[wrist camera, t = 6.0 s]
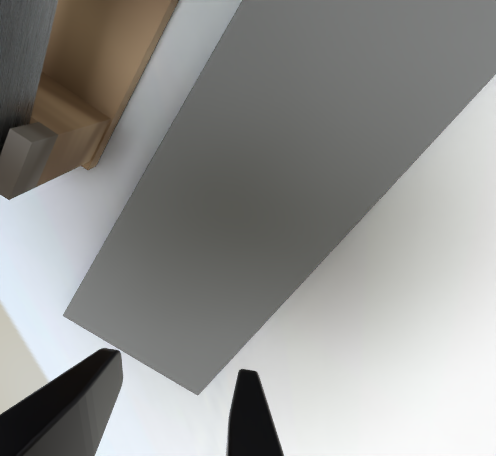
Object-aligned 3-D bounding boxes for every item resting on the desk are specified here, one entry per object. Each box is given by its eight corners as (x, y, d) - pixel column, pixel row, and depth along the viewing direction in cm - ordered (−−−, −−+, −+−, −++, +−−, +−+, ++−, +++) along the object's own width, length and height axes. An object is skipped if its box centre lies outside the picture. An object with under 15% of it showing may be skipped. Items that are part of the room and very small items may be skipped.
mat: (536, 21, 15) (545, 19, 14) (199, 388, 25) (197, 395, 24) (335, -157, 13) (337, -167, 13) (68, 309, 24) (62, 315, 23)
